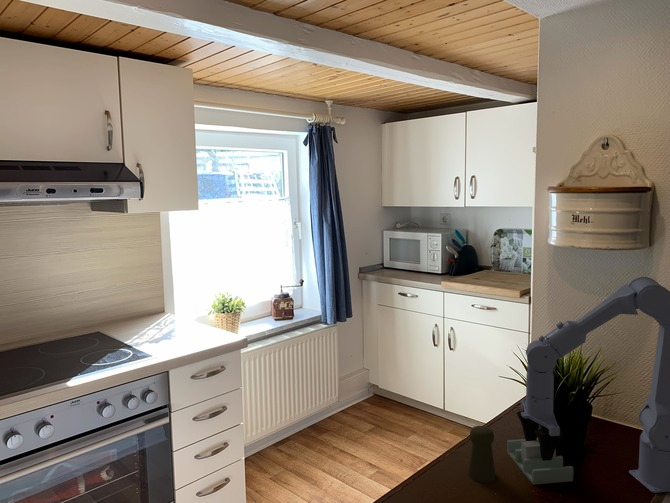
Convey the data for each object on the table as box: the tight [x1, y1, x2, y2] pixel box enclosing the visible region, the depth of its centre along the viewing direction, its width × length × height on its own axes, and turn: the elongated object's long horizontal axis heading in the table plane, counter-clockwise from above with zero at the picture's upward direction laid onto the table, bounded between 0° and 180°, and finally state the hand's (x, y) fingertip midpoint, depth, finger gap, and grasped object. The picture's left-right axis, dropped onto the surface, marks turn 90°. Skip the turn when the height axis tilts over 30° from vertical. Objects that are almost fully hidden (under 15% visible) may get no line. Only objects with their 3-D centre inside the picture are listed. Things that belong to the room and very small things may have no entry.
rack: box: [506, 437, 574, 485], centre depth 119 cm, size 9×14×3 cm, turn 5°
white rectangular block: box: [521, 440, 557, 464], centre depth 119 cm, size 7×2×5 cm, turn 95°
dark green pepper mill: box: [467, 425, 496, 483], centre depth 116 cm, size 6×6×11 cm
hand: (538, 450), depth 119 cm, fingers open, 7 cm apart
